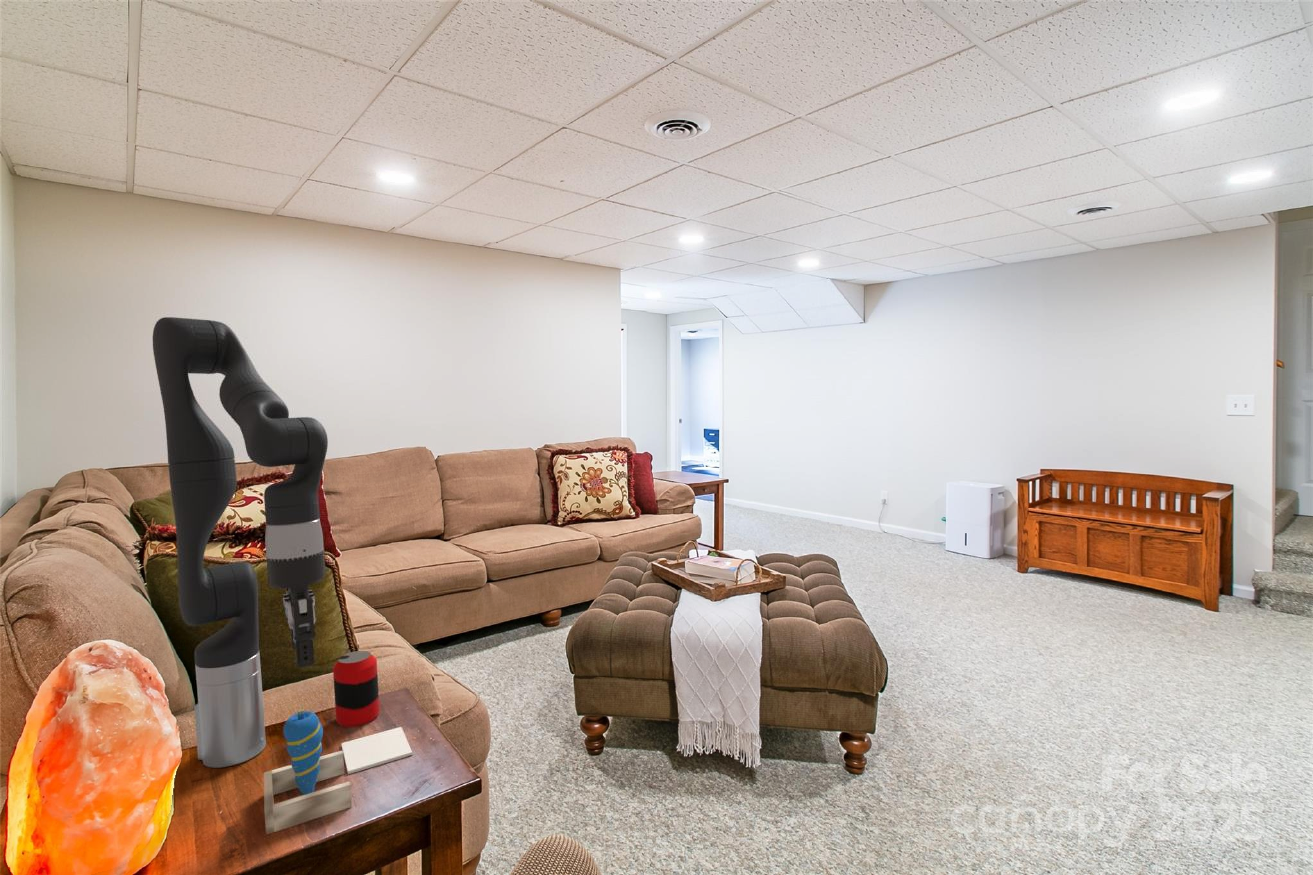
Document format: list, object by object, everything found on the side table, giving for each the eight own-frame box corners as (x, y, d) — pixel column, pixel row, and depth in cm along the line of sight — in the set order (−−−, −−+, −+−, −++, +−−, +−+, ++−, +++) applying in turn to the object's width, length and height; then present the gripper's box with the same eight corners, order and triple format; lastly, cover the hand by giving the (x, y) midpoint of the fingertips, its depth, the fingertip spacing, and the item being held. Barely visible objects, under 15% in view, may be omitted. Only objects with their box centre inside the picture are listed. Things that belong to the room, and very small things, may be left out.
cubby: (266, 834, 91) (264, 811, 90) (265, 793, 100) (264, 772, 100) (351, 806, 96) (350, 784, 96) (343, 770, 106) (342, 750, 105)
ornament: (310, 813, 95) (303, 715, 94) (280, 809, 96) (273, 712, 95) (334, 791, 100) (328, 698, 99) (305, 788, 101) (299, 696, 100)
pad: (348, 774, 105) (347, 771, 105) (341, 745, 113) (341, 743, 113) (412, 754, 110) (412, 752, 110) (401, 729, 118) (401, 726, 118)
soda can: (345, 709, 127) (341, 650, 126) (384, 706, 127) (381, 647, 126) (329, 729, 119) (325, 666, 118) (372, 726, 120) (368, 663, 119)
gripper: (329, 555, 92) (337, 665, 93) (318, 539, 104) (324, 637, 105) (268, 564, 88) (277, 679, 89) (263, 546, 100) (271, 648, 101)
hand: (302, 656), depth 97 cm, fingers open, 8 cm apart
